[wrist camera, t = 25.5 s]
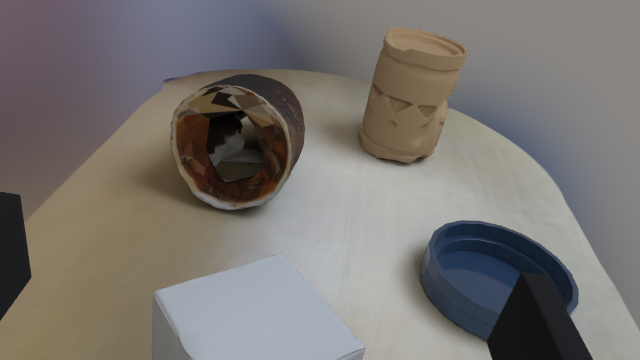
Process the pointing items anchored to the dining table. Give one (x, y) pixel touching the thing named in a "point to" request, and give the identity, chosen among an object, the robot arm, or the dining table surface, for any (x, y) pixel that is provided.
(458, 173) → the dining table surface
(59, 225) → the dining table surface
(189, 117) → the clay pot
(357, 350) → the rectangular carton
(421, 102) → the container
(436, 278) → the bowl
